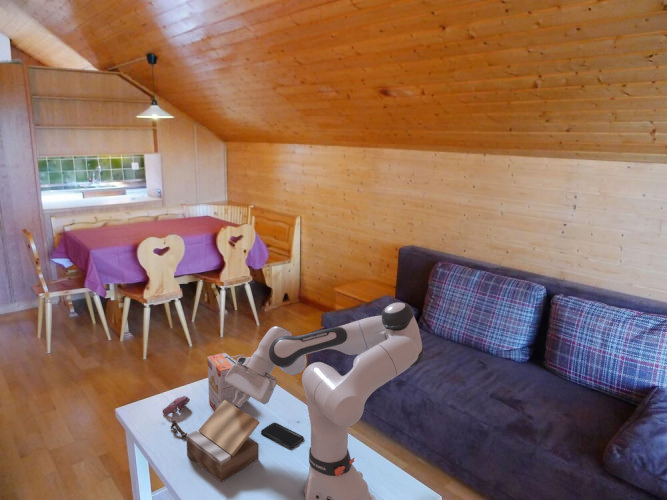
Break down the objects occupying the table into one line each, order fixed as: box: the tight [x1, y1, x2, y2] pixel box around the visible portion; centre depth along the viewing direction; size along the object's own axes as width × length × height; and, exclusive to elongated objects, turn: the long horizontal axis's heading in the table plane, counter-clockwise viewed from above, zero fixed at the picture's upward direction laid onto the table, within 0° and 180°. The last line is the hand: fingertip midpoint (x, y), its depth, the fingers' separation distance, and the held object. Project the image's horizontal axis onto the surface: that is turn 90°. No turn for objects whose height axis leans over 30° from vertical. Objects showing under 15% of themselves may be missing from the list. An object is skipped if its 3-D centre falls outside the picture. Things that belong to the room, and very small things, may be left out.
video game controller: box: [162, 395, 190, 416], centre depth 187 cm, size 10×5×7 cm, turn 149°
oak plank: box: [197, 400, 260, 456], centre depth 162 cm, size 18×13×2 cm
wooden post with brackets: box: [170, 419, 188, 439], centre depth 174 cm, size 2×8×4 cm, turn 53°
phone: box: [260, 422, 305, 450], centre depth 174 cm, size 8×1×15 cm
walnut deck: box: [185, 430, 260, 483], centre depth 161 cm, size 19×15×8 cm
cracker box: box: [206, 352, 236, 411], centre depth 186 cm, size 14×6×21 cm, turn 33°
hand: (236, 405), depth 163 cm, fingers closed
